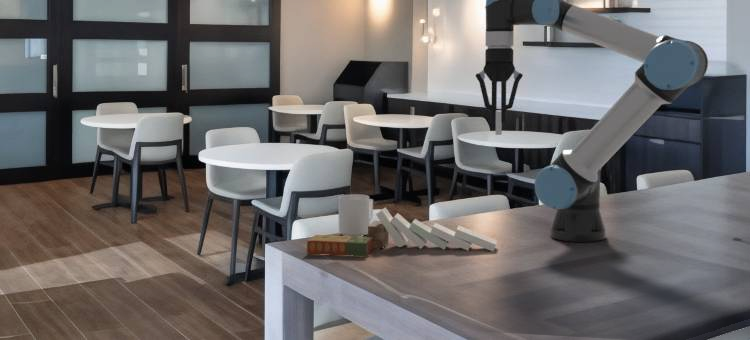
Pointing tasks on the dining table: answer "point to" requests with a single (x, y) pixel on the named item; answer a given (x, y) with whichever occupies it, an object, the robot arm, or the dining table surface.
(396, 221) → the domino
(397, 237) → the domino
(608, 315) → the dining table surface
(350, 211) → the mug
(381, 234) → the block
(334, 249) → the carton
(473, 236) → the domino
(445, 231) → the domino
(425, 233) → the domino
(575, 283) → the dining table surface
